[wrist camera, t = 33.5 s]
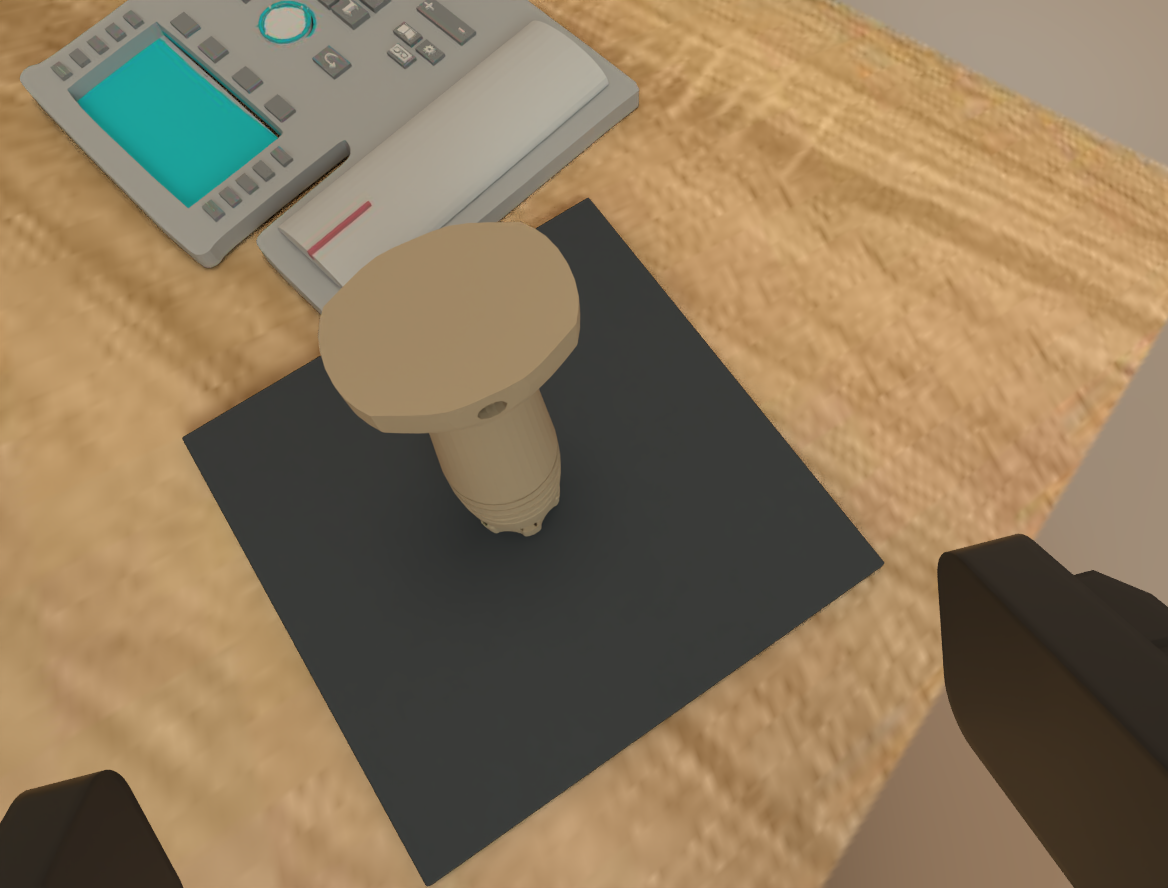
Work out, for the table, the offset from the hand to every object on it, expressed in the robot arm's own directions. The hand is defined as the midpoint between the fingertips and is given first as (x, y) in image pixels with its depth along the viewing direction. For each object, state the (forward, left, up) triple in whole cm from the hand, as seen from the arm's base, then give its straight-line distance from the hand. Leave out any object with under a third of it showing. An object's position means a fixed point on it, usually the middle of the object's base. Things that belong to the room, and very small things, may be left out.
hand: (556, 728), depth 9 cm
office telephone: (+33, -6, -27) cm, 43 cm away
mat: (+11, -3, -26) cm, 29 cm away
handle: (+11, -3, -26) cm, 28 cm away
